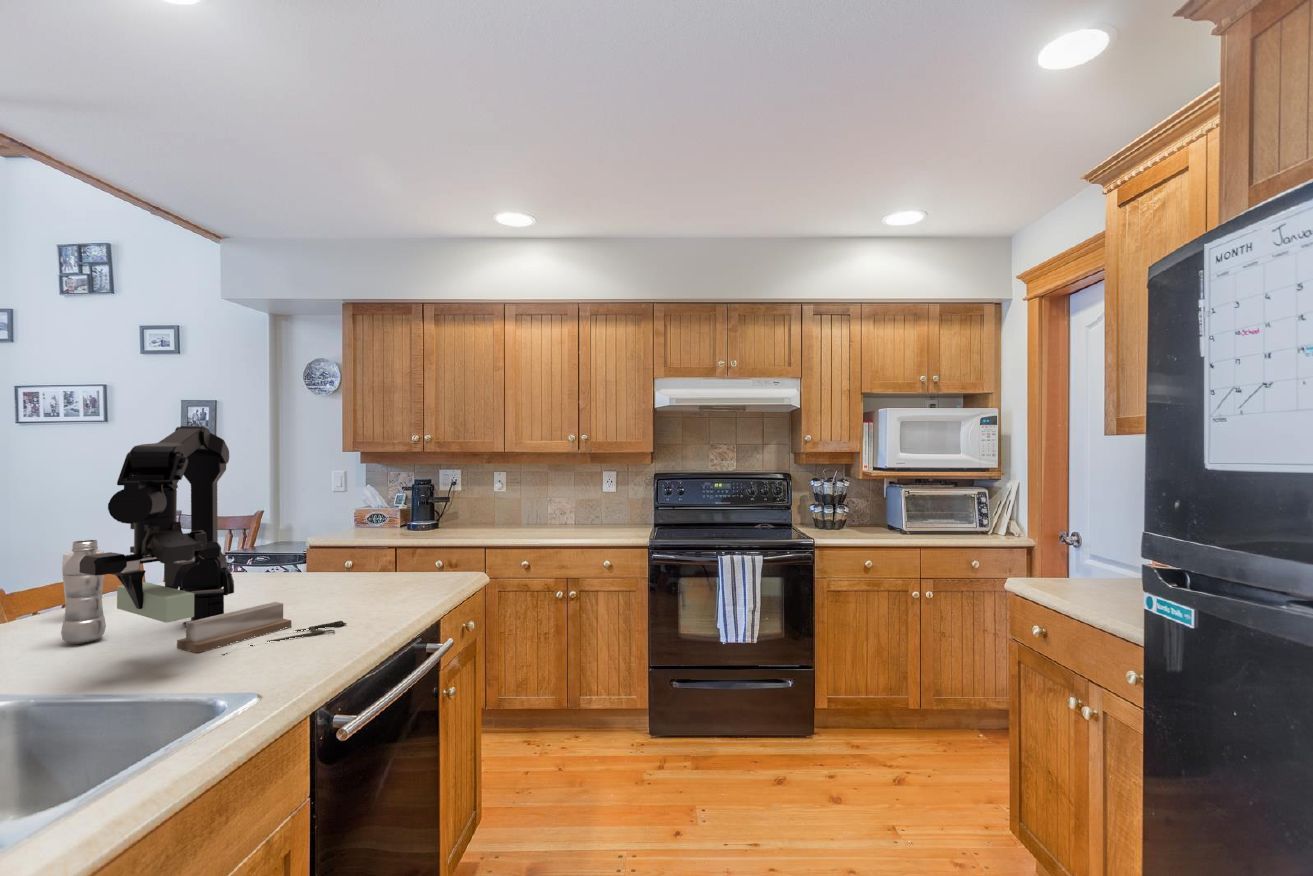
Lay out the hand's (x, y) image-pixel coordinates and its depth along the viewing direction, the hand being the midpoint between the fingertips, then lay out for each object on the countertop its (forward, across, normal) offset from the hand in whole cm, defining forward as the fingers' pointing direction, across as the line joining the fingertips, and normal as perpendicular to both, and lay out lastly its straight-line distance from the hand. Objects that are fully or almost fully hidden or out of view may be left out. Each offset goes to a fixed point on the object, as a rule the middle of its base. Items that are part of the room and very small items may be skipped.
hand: (154, 605), depth 106 cm
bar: (+1, 0, 0) cm, 1 cm away
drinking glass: (+11, +10, +50) cm, 52 cm away
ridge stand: (+11, +17, +5) cm, 21 cm away
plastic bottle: (+11, +2, +29) cm, 31 cm away
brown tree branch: (+12, +20, -5) cm, 23 cm away
